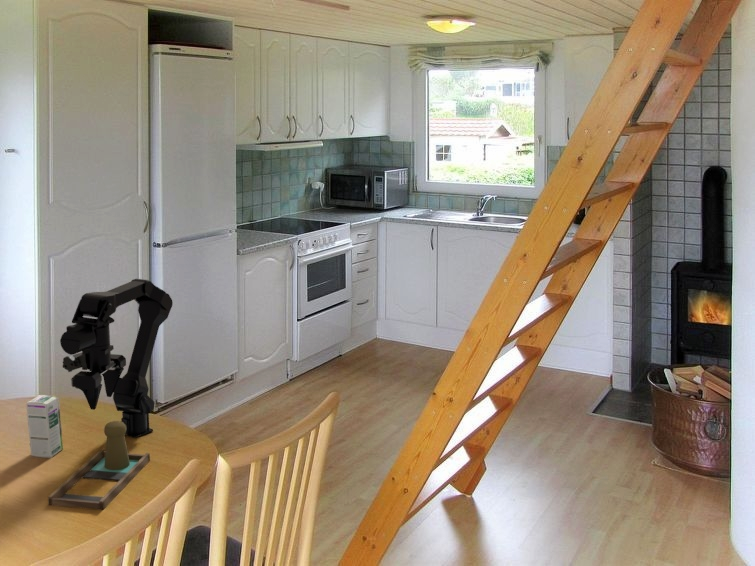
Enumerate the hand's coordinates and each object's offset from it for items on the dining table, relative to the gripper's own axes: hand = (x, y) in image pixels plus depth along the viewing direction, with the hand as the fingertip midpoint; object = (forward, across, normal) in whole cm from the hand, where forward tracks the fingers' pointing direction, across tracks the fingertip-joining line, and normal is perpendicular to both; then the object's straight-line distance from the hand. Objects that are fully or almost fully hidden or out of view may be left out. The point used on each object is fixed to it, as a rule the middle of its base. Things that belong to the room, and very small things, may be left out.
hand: (101, 402), depth 227 cm
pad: (+13, +8, +7) cm, 17 cm away
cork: (+13, +8, +7) cm, 17 cm away
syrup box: (+13, +4, -14) cm, 19 cm away
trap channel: (+13, +17, +7) cm, 22 cm away
